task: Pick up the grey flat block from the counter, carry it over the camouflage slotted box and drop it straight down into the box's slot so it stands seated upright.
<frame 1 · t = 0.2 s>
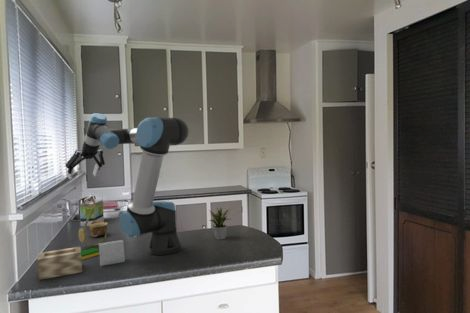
hand: (82, 176, 191), 36 cm above the worktop, tool tilted 35°, fingers open, 13 cm apart
house plant: (222, 238, 187), on the worktop
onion: (99, 236, 208), on the worktop
wall sconce: (95, 246, 187), on the worktop
tea box: (92, 224, 243), on the worktop
camouflage slotted box: (61, 271, 150), on the worktop
dish sponge: (84, 257, 170), on the worktop
grey flat block: (112, 262, 158), on the worktop
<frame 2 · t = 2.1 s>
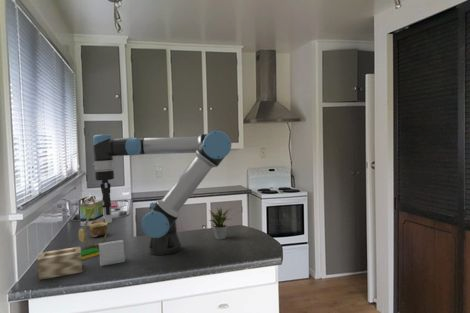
hand: (107, 219, 158), 19 cm above the worktop, tool pointing down, fingers open, 13 cm apart
nothing on the worktop moved.
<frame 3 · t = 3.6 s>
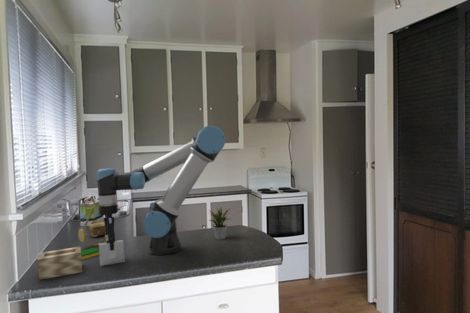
hand: (110, 253, 158), 4 cm above the worktop, tool pointing down, fingers open, 13 cm apart
nothing on the worktop moved.
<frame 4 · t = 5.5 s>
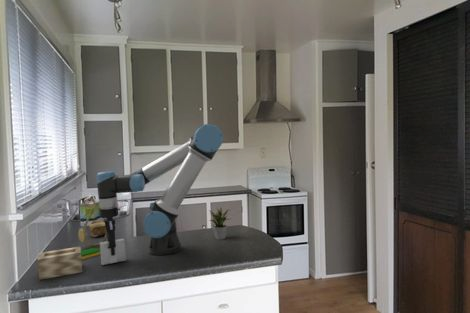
hand: (113, 261, 158), 1 cm above the worktop, tool pointing down, fingers closed on grey flat block, 3 cm apart
grey flat block: (113, 261, 158), on the worktop, touching gripper
everything else where it was.
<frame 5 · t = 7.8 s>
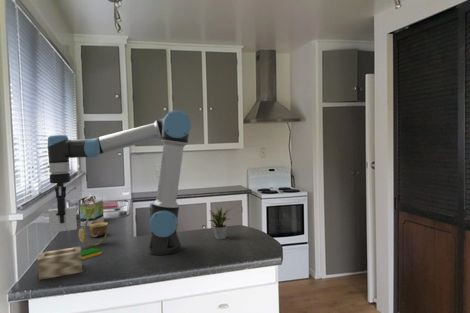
hand: (63, 229, 150), 17 cm above the worktop, tool pointing down, fingers closed on grey flat block, 3 cm apart
grey flat block: (63, 230, 150), point 17 cm above the worktop, touching gripper
everything else where it was.
when the fingers open (10 cm above the worktop, at t = 10.2 s): grey flat block drops 6 cm, resting on camouflage slotted box.
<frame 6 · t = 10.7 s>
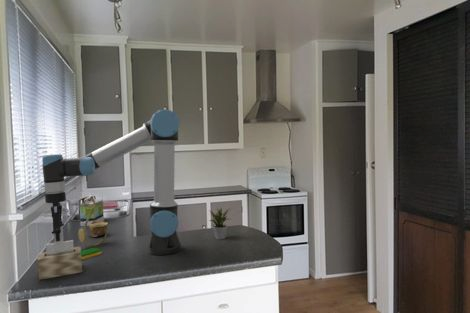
hand: (59, 245, 150), 11 cm above the worktop, tool pointing down, fingers open, 11 cm apart
grey flat block: (61, 264, 150), point 3 cm above the worktop, touching camouflage slotted box
everything else where it was.
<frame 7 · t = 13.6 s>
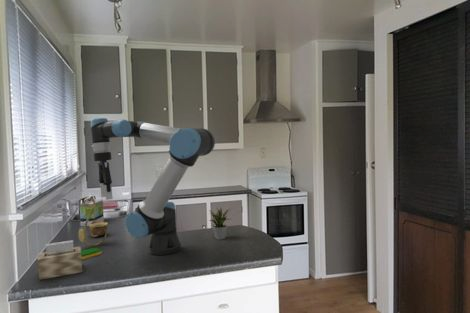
hand: (106, 198, 168), 27 cm above the worktop, tool pointing down, fingers open, 13 cm apart
nothing on the worktop moved.
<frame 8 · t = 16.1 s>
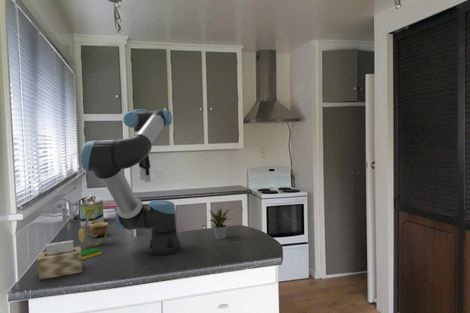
hand: (145, 180, 189), 32 cm above the worktop, tool pointing down, fingers open, 13 cm apart
nothing on the worktop moved.
at the end: grey flat block 0.2 cm off-centre on the camouflage slotted box, point 3.0 cm above the camouflage slotted box's base; grey flat block tilted 0°; the gripper is holding nothing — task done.
